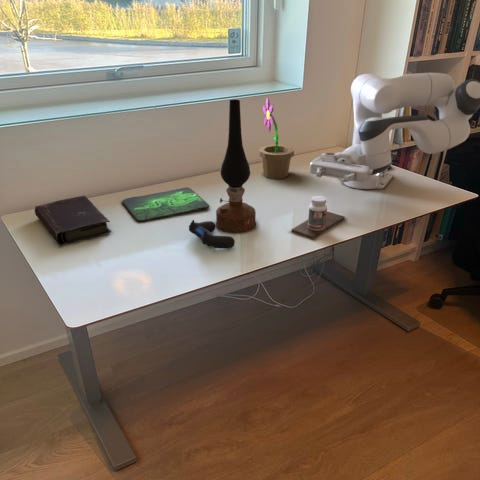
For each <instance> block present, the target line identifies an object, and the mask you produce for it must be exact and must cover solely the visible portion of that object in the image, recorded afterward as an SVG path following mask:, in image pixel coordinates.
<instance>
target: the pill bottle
mask: <svg viewBox="0 0 480 480" xmlns="http://www.w3.org/2000/svg"><path fill="white" fill-rule="evenodd" d="M310 202H311V203H310V204H309V206H308V219H307V220H308V228H309V229H311V230H315V231H320V230H323V229H324V228H325V224H326V213H327V212H328V206H327V198H326V197H325V196H322V195H315V196H312V197H311V201H310Z"/></svg>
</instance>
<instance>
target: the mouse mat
mask: <svg viewBox="0 0 480 480" xmlns="http://www.w3.org/2000/svg"><path fill="white" fill-rule="evenodd" d="M121 202H122V204H123V205H124V206H125V208H126V209H127V210H128V212H129V213H130V215H131V216H132V217H133V218H134V220H135V221H136V222H140V223H141V222H142V223H143V222H147V221H150V220H157V219H162V218H167V217H171V216H178V215H181V214H187V213H191V212H194V211H198V210H199V211H200V210H204V209H208V208H209V207H210V204H209V203H207V202H206V201H205V200H204V199H203V198H202V197H201V196H200V195H198V194H197V193H196V191H194V190H193V189H192V188H190V187H181V188H177V189H172V190H168V191H162V192H161V191H160V192H156V193H150V194H146V195H139V196H132V197H127V198H124V199H123V200H122V201H121Z"/></svg>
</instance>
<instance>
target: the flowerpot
mask: <svg viewBox="0 0 480 480" xmlns="http://www.w3.org/2000/svg"><path fill="white" fill-rule="evenodd" d="M262 112H263V114H264V115H266V116H264V119H263V125H264V126H267V131H268V133H271V129H272V125H274V131H275V136H274V137H273V140H274V141H275V144H266V145H262V146H261V147H259V148H258V155H259V157H260V158H261V162H262V171H263V172H262V173H263V176H264V177H266V178H267V179H268V178H269V179H274V180H275V179H279V180H280V179H285V178H286V177H288V176H289V172H290V165H291V160H292V158H293V157H294V156H295V149H294V148H293V147H292V146H289V145H285V144H279V130H278V123H277V122H276V119H275V117H274V116H273V112H274V104H270V99H269V97H266V101H265V105H264V106H262Z"/></svg>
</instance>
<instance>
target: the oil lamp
mask: <svg viewBox="0 0 480 480" xmlns="http://www.w3.org/2000/svg"><path fill="white" fill-rule="evenodd" d="M228 110H229V111H228V113H229V114H228V136H227V137H228V138H227V146H226V150H225V154H224V157H223V161H222V163H221V166H220V176H221V179H222V180H223V182H224V183H225V184H227V185H228V187H227V188H226V189H225V190H226V193H227V196H228V200H225V202H226V203H224V204H222V205H220V206H218V207H217V208H216V209H215V215H216V216H215V218H216V222H215V226H216V227H215V228H216V229H218V230H219V231H220V232H223V233H226V234H227V233H228V234H245V233H248V232H252V231H253V230H254V229H256V227H257V222H256V209H255V207H253V205H250V204H248V203H246V202H243V201H244V200H243V196H244V194H245V191H246V189H245V188H244V187H243V185H244V184H245V183H247V181H248V180H249V179H250V176H251V170H250V169H251V168H250V164H249V162H248V159H247V157H246V156H247V155H246V153H245V149H244V146H243V145H244V144H243V136H242V119H241V100H240V99H230V100H229V109H228ZM222 202H224V199H223V198H222V197H220V198H219V203H220V204H221V203H222Z"/></svg>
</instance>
